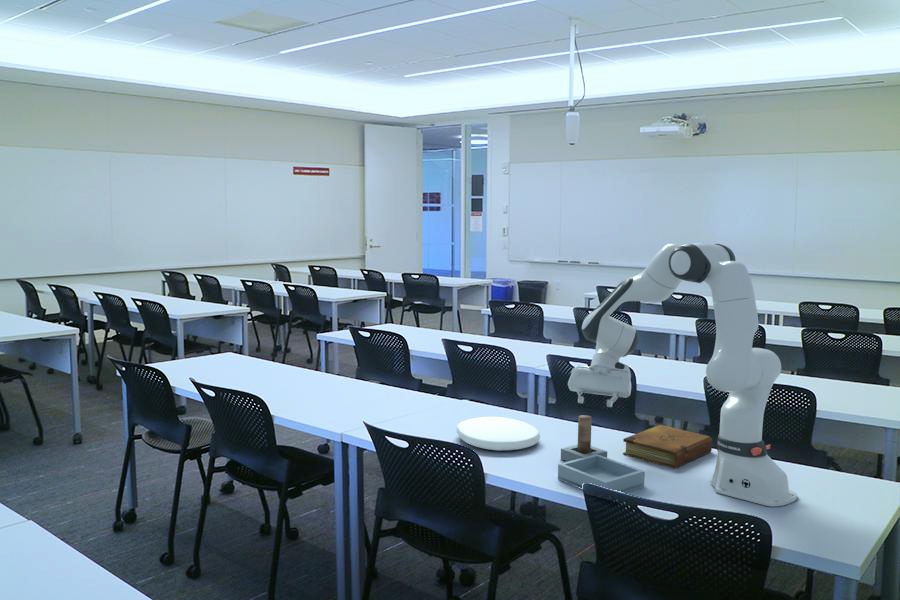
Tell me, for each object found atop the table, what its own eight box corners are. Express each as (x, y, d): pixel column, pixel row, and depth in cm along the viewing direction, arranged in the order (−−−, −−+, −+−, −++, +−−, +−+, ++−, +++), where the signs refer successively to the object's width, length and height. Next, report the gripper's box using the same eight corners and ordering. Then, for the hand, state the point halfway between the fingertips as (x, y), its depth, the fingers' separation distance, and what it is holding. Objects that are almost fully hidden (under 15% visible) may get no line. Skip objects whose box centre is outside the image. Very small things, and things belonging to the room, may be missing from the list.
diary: (676, 471, 221) (677, 452, 220) (622, 456, 234) (623, 438, 233) (711, 453, 237) (712, 436, 237) (658, 440, 250) (659, 424, 250)
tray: (644, 486, 206) (644, 471, 205) (605, 498, 197) (605, 482, 196) (596, 468, 220) (596, 454, 220) (557, 479, 211) (558, 464, 210)
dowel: (592, 461, 227) (594, 417, 225) (583, 464, 224) (585, 419, 223) (583, 458, 230) (584, 414, 228) (574, 460, 228) (575, 416, 226)
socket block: (606, 462, 226) (607, 451, 226) (584, 468, 220) (584, 457, 220) (583, 453, 234) (583, 443, 234) (560, 459, 228) (560, 448, 228)
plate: (555, 429, 244) (499, 446, 227) (553, 448, 246) (497, 465, 228) (496, 404, 265) (441, 417, 247) (495, 421, 266) (439, 436, 248)
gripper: (571, 360, 244) (561, 394, 237) (633, 366, 235) (624, 402, 227) (575, 370, 249) (565, 405, 241) (635, 377, 239) (627, 413, 232)
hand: (594, 404), depth 234 cm, fingers open, 8 cm apart
